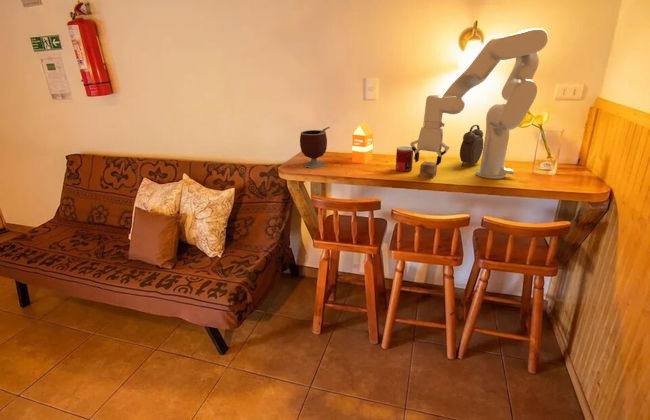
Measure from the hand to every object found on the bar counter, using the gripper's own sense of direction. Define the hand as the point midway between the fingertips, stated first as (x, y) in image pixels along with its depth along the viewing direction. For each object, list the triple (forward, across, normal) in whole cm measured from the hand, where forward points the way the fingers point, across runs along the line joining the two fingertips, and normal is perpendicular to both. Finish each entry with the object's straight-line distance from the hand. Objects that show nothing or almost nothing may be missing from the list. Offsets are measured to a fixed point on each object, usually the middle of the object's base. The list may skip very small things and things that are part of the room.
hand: (427, 163), depth 160 cm
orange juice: (+7, +38, -13) cm, 41 cm away
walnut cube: (+6, -1, 0) cm, 6 cm away
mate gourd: (+8, +56, +6) cm, 57 cm away
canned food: (+7, +12, -4) cm, 14 cm away
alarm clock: (+6, -14, -28) cm, 32 cm away
